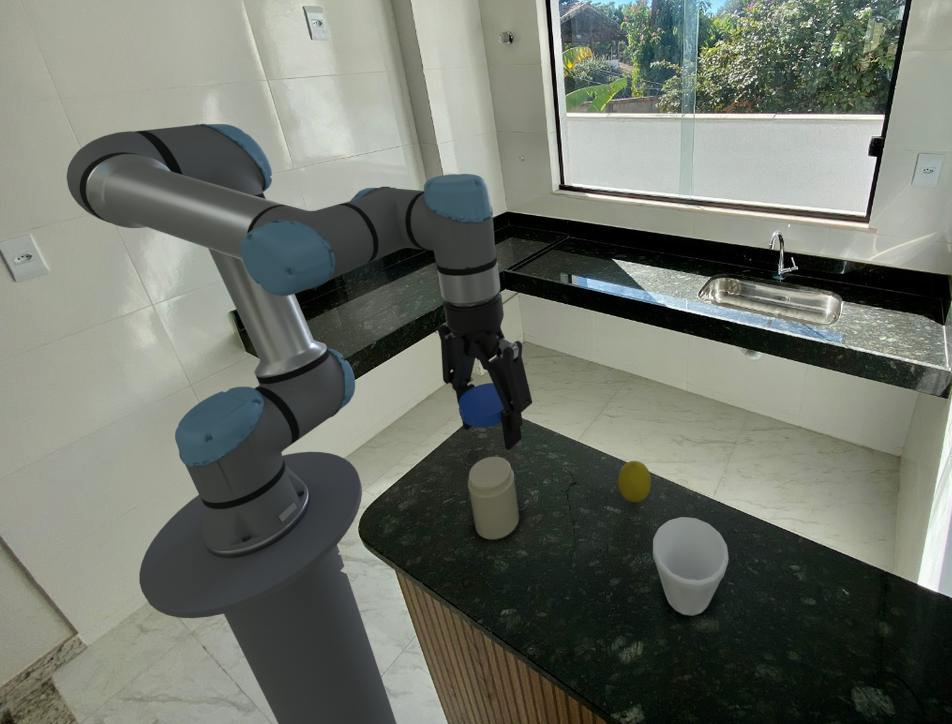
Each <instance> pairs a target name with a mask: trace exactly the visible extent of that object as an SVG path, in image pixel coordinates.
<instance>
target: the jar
mask: <svg viewBox="0 0 952 724" xmlns="http://www.w3.org/2000/svg"><path fill="white" fill-rule="evenodd" d="M467 488H468V495H469V500H470V505H471V512H472V517H473V523H474V529H475V531H476V533H477V534H478V535H479V536H480V537H481V538H484V539H487V540H498V539H499V540H500V539H502V538H505V537H506V536H508V535H510V534H511V533H512V532H513V531H514V530H515V529H516V527H517V526H518V524H519V521H520V513H519V512H520V511H519V504H518V496H517V495H518V494H517V488H516V479H515V474H514V470H513V469H512V468H511V464H510V462H509V461H508V460H507V459H505V458H504V457H500V456H488V457H485V458H482V459H480V460H479V461H477V462H476V463H474V465H472V467H471V468H470V470H469V473H468V480H467Z"/></svg>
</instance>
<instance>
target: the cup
mask: <svg viewBox="0 0 952 724" xmlns="http://www.w3.org/2000/svg"><path fill="white" fill-rule="evenodd" d="M652 559H653V561H654V563H655V565H656V570H657V573H658V576H659V579H660V582H661V586H662V588H663V589H662V590H663V592H664V595H665V597H666V600H667V602H668V604H669V605H670V606H671V608H672V609H673V610H674V611H675V612H677V613H679V614H681V615H683V616H690V617H693V616H697V615H700V614H702V613H703V612H704V611H705V610H706V609H707V608H708V606H709V605H710V603H711V601H712V599H713V597H714V595H715V593H716V591H717V589H718V587H719V585H720V582H721V581H722V579H723V578H724V577H725V573H726V571H727V568H728V565H729V551H728V545H727V543H726V542H725V539H724V538H723V536H722V534H721V533H720V532H719V531H717V529H716V528H714V527H713V526H712V525H711V524H709V523H708V522H706V521H703V520H700V519H698V518H696V517H685V516H680V517H677V518H672V519H669V520H668V521H666V522H664V523H663V524H662V525H661V526H660V527H658V529H657V531H656V532H655V534H654V537H653V538H652Z"/></svg>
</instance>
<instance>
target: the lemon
mask: <svg viewBox="0 0 952 724" xmlns="http://www.w3.org/2000/svg"><path fill="white" fill-rule="evenodd" d="M617 483H618V490H619V492H620V494H621V496H622V497H623V498H624V499H625V500H626V501H628V502H630V503H640V502H642V501H644V500H645V499H646V498H647V497H648V495H649V494H650V491H651V488H652V477H651V474H650V471H649V469H648V467H647V466H646V465H645V464H644V463H643V462H641V461H638V460H630V461H628V462H626V463H625V464H624V465H623V466H622V467H621V469H620V470H619V474H618V481H617Z"/></svg>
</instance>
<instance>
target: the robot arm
mask: <svg viewBox="0 0 952 724" xmlns="http://www.w3.org/2000/svg"><path fill="white" fill-rule="evenodd" d="M272 175H273V171H272V167H271V164H270V161H269V159H268V157H267V155H266V153H265V152H264V150H263V148H262V147H261V146H260V144H258V142H257V141H256V140H255V139H254V138H253V137H252V136H251V135H249V134H248V133H246V132H245V131H243V130H242V129H241V128H238V127H237V126H234V125H231V124H227V123H200V124H199V123H197V124H191V125H182V126H172V127H171V126H170V127H164V128H162V127H161V128H155V129H154V128H153V129H144V130H130V131H129V130H128V131H119V132H114V133H110V134H106V135H102V136H100V137H98V138H95V139H94V140H91V141H90V142H88V143H87V144H85V145H84V146H83V147H81V148H80V149H78V151H77V152H76V153H75V154H74V156H73V157H72V159H71V160H70V162H69V164H68V167H67V171H66V183H67V187H68V190H69V193H70V195H71V197H72V198H73V199H74V200H75V202H76V203H77V205H78V206H79V207H81V208H82V209H83V210H84V211H85V212H86V213H88V214H90V215H91V216H94V217H95V218H97V219H99V220H101V221H103V222H106V223H109V224H112V225H114V226H118V227H122V228H125V229H126V228H127V229H144V228H149V229H151V230H155V231H157V232H160V233H163V234H166V235H169V236H171V237H175V238H177V239H180V240H182V241H186V242H189V243H192V244H194V245H197V246H200V247H203V248H207V250H208V252H209V254H210V256H211V258H212V260H213V262H214V265H215V266H216V269H217V271H218V273H219V274H220V278H221V279H222V282H223V283H224V286H225V288H226V291H227V292H228V295H229V296H230V298H231V301H232V303H233V305H234V307H235V309H236V311H237V313H238V315H239V318H240V320H241V322H242V325H243V327H244V328H245V331H246V333H247V335H248V337H249V339H250V341H251V344H252V345H253V348H254V350H255V352H256V354H257V357H258V358H259V362H258V364H257V366H256V367H255V369H254V375H255V377H256V380H257V383H258V385H257V386H255V387H252V386H236V387H232V388H229V389H228V390H226V391H223V390H222V391H219V392H216V393H214V394H211V395H210V396H208V397H207V398H205V399H203V400H201V401H200V402H198V403H197V404H195V405H194V406H193V407H192V408H191V409H190V410H188V411H187V412H186V413H185V414H184V415H183V417H182V418H181V419H180V421H179V423H178V424H177V427H176V429H175V432H174V440H175V443H176V445H177V448H178V455H179V459H180V461H181V462H182V463H183V464H184V465H185V467H186V470H187V472H188V474H189V476H190V477H191V480H192V483H193V485H194V487H195V490H196V491H197V493H198V495H199V496H200V497H201V500H202V502H203V504H204V506H203V524H202V538H203V541H204V544H205V546H206V548H207V550H208V551H209V552H210V553H211V554H213V555H215V556H217V557H221V558H236V557H241V556H246V555H249V554H252V553H255V552H257V551H260V550H262V549H264V548H266V547H268V546H270V545H272V544H274V543H275V542H277V541H278V540H280V539H281V538H283V537H284V536H285V535H287V534H288V533H289V532H290V531H291V530H292V529H293V528H295V526H296V525H297V524H298V523H299V522H300V521H301V520H302V518H303V517H304V515H305V514H306V512H307V510H308V507H309V504H310V495H309V492H308V489H307V486H306V485H305V483H304V482H303V481H302V480H301V479H300V478H299V477H298V476H297V475H296V474H295V473H294V472H293V471H291V470H290V469H289V468H288V467H287V466H286V465H285V462H284V459H283V454H282V453H283V452H284V451H285V450H286V449H287V448H288V447H290V446H292V445H293V444H295V443H297V441H299V440H300V439H302V438H303V437H304V436H306V435H308V434H309V433H310V432H312V431H313V430H314V429H316V428H317V427H319V426H320V425H321V424H323V423H324V422H326V421H327V420H329V419H330V418H333V417H334V416H336V415H337V414H338V413H339V412H340V411H341V410H342V409H343V408H344V407H346V406H347V405H348V404H349V403H350V402H351V400H352V398H353V397H354V394H355V391H356V379H355V374H354V370H353V369H352V368H353V367H352V366H351V365H350V363H349V361H348V360H345V359H344V355H343V354H342V353H340V352H339V351H337V350H335V349H332V348H328V346H327V344H326V343H324V342H321V341H318V340H315V339H314V337H313V335H312V332H311V330H310V328H309V324H308V323H307V320H306V318H305V315H304V313H303V311H302V308H301V306H300V304H299V301H298V299H297V296H296V294H298V293H301V292H303V291H306V290H312V289H315V288H316V289H317V288H318V287H320V286H322V285H323V284H325V283H327V282H328V281H332V280H334V279H336V278H338V277H340V276H342V275H344V274H347V273H349V272H351V271H353V270H355V269H358V268H360V267H362V266H364V265H367V264H369V263H372V262H374V261H377V260H379V259H382V258H383V257H386V256H388V255H390V254H393V253H395V252H397V251H399V250H402V249H403V250H404V249H415V250H423V251H433V253H434V254H433V255H434V259H435V263H436V270H437V277H438V284H439V289H440V290H439V291H440V296H441V298H442V299H443V303H442V305H443V311H444V316H445V322H444V323H443V324H440V325H438V326H437V333H438V336H439V339H440V348H441V349H440V351H441V368H442V381H443V382H444V384H446V385H448V384H451V388H452V390H453V391H455V395H456V400H457V405H458V406H459V400H460V398H461V396H462V395H463V394H464V393H465V392H467V391H468V390H470V389H471V388H473V387H475V386H476V385H475V384H473V383H471V382H472V381H474V378H473V377H472V375H473V370H474V366H475V362H476V360H477V361H479V362H480V365H481V367H482V369H483V370H485V371H487V373H488V375H489V377H490V379H491V383H493V384H494V386H495V389H496V391H497V393H498V395H499V398H500V400H501V402H502V404H503V407H504V409H503V410H501V411H500V412H501V420H502V422H501V427H502V432H503V433H502V434H503V440H504V441H503V442H504V449H506V450H508V451H510V450H512V448H514V447H515V446H516V445H517V444H518V443H519V442H520V441H521V440H522V439H523V438H522V430H521V426H522V425H523V416H522V413H523V412H524V411H525V410H526V409H527V408H528V407H530V406H531V405H532V404H533V399H532V394H531V390H530V385H529V382H528V378H527V374H526V373H527V372H526V369H525V365H524V361H523V344H522V342H521V341H520V340H515V341H514V342H512V341H510V340H508V339H506V336H505V334H504V333H503V330H502V322H503V319H504V316H505V313H504V304H503V296H502V292H500V290H501V281H500V272H499V265H498V263H499V262H498V255H497V253H496V243H495V230H494V229H495V228H494V217H493V216H494V214H493V213H494V210H493V206H492V204H491V199H490V193H489V188H488V184H487V181H486V180H485V179H484V178H483V177H482V176H479V175H476V174H473V173H460V174H457V173H451V174H445V175H444V174H443V175H438V176H433V177H431V178H429V179H427V180H426V181H425V183H424V184H423V190H419V189H407V188H397V187H391V186H379V187H366V188H364V189H360V190H359V191H358V192H356V194H354V196H353V197H352V198H351V199H350V200H349V201H346V202H345V201H344V202H342V203H341V202H340V203H337V204H333V205H331V206H328V207H323V208H320V209H319V208H318V209H316V210H306V209H304V208H300V207H295V206H291V205H288V204H284V203H280V202H277V201H273V200H270V199H267V197H266V196H265V194H264V192H266V190H268V189H269V188H270V187H271V185H272V181H273V179H272ZM469 383H470V384H469ZM461 423H462V427H463V430H466V431H468V430H469V429H471V428H472V427H473V426H470V425H468V424H466V423H465V422H464V421H463V420H461Z"/></svg>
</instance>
